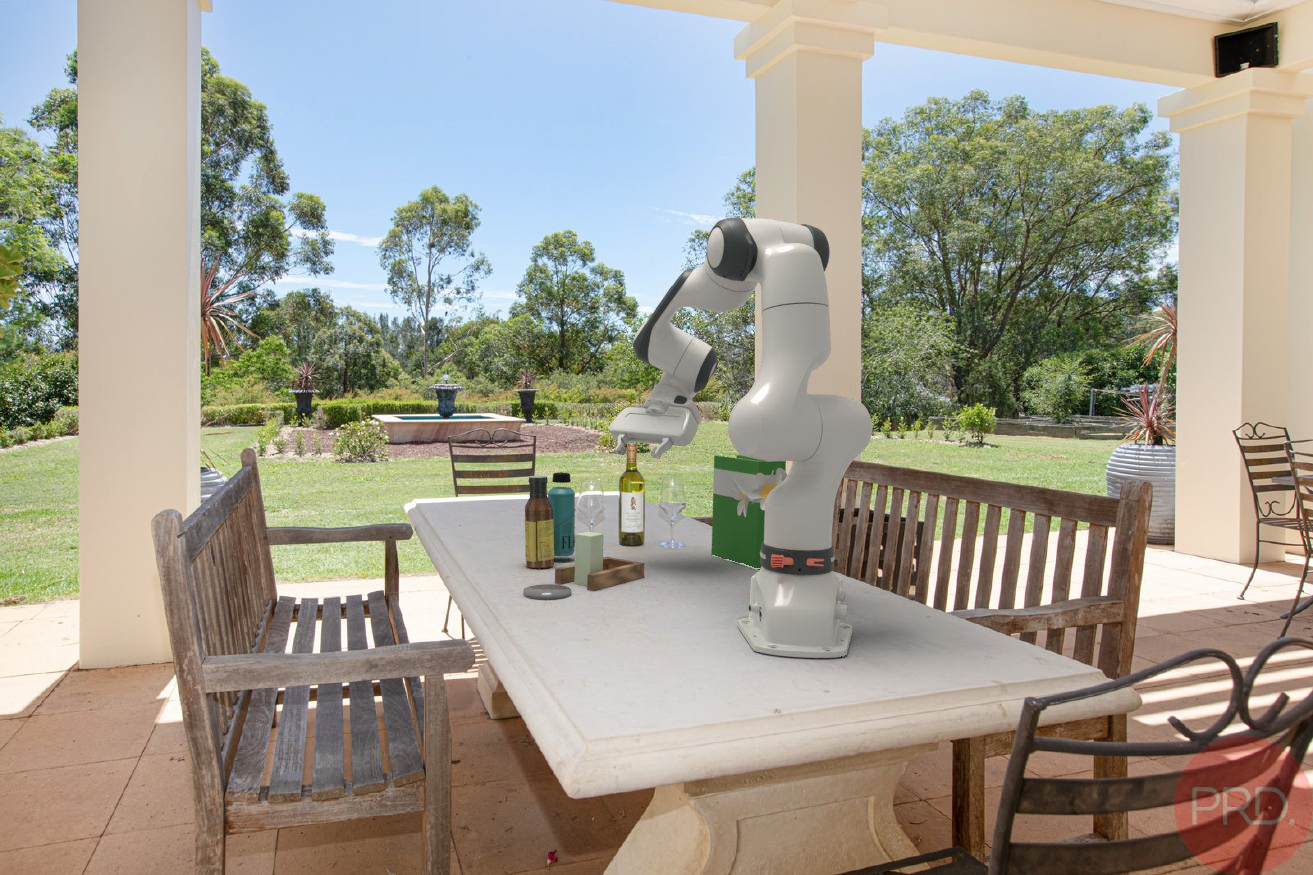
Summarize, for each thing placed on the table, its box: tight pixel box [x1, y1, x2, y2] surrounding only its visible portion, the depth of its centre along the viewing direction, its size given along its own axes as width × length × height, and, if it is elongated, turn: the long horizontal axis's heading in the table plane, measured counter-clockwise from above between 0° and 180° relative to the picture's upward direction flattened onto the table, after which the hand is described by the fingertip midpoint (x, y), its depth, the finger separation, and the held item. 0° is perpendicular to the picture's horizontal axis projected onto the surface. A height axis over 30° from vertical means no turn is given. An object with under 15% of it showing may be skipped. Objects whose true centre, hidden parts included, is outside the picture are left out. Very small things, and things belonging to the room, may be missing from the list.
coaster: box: [522, 583, 572, 601], centre depth 161 cm, size 9×9×1 cm
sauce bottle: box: [524, 475, 555, 570], centre depth 185 cm, size 6×6×20 cm
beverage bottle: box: [547, 471, 576, 557], centre depth 193 cm, size 6×7×20 cm
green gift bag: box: [711, 454, 787, 568], centre depth 197 cm, size 18×7×24 cm, turn 30°
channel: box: [554, 556, 645, 592], centre depth 174 cm, size 16×10×3 cm, turn 144°
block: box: [573, 531, 604, 587], centre depth 171 cm, size 4×4×10 cm
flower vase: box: [731, 468, 788, 518], centre depth 159 cm, size 13×18×25 cm
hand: (636, 454), depth 179 cm, fingers open, 8 cm apart
